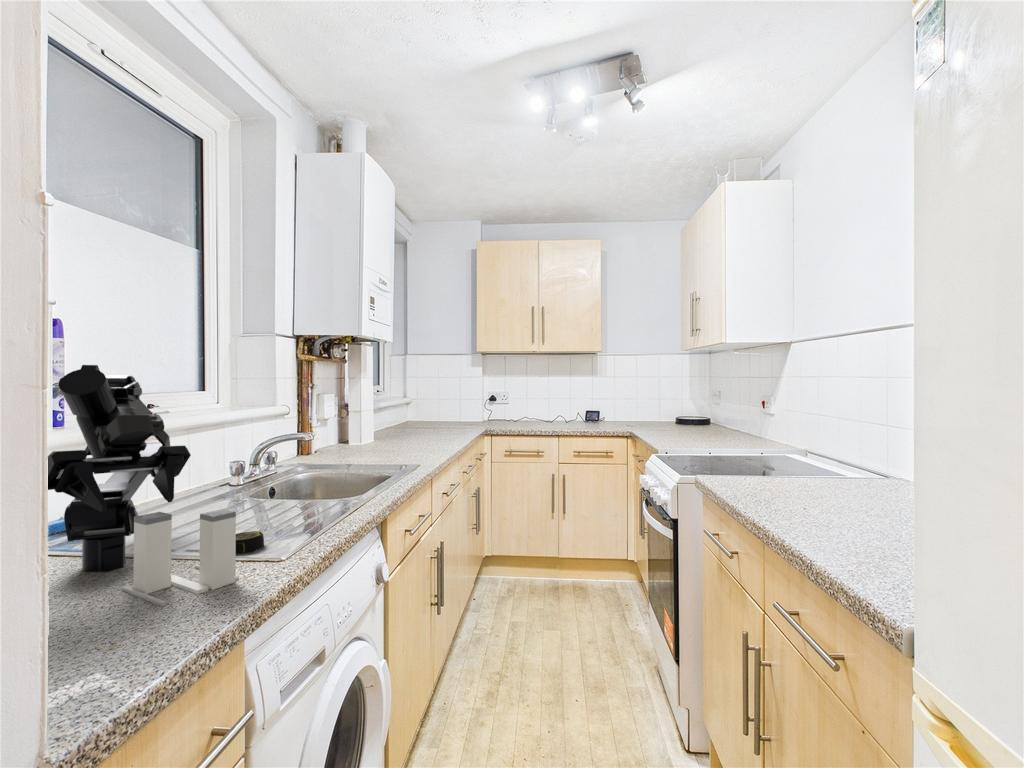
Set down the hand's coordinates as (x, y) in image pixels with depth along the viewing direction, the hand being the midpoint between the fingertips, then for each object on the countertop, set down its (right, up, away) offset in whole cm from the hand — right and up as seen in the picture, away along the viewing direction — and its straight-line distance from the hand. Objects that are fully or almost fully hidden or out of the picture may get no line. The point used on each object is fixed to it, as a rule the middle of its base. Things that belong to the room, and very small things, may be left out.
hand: (139, 504), depth 76 cm
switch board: (+6, -13, 0) cm, 15 cm away
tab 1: (+3, -12, -1) cm, 13 cm away
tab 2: (+12, -12, +1) cm, 17 cm away
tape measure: (+6, -14, +17) cm, 23 cm away
